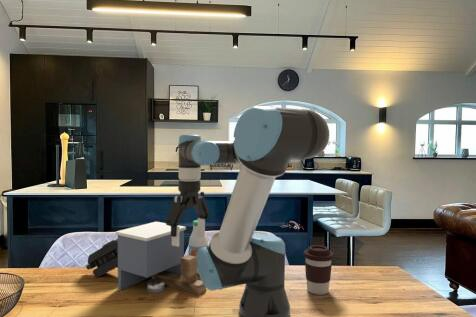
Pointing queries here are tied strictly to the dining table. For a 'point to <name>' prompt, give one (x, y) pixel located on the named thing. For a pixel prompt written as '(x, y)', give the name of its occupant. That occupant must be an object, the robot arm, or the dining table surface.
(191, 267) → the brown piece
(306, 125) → the robot arm
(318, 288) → the coffee cup
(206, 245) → the milk bottle
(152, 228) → the cabinet
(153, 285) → the puck
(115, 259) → the tool
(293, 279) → the dining table surface
